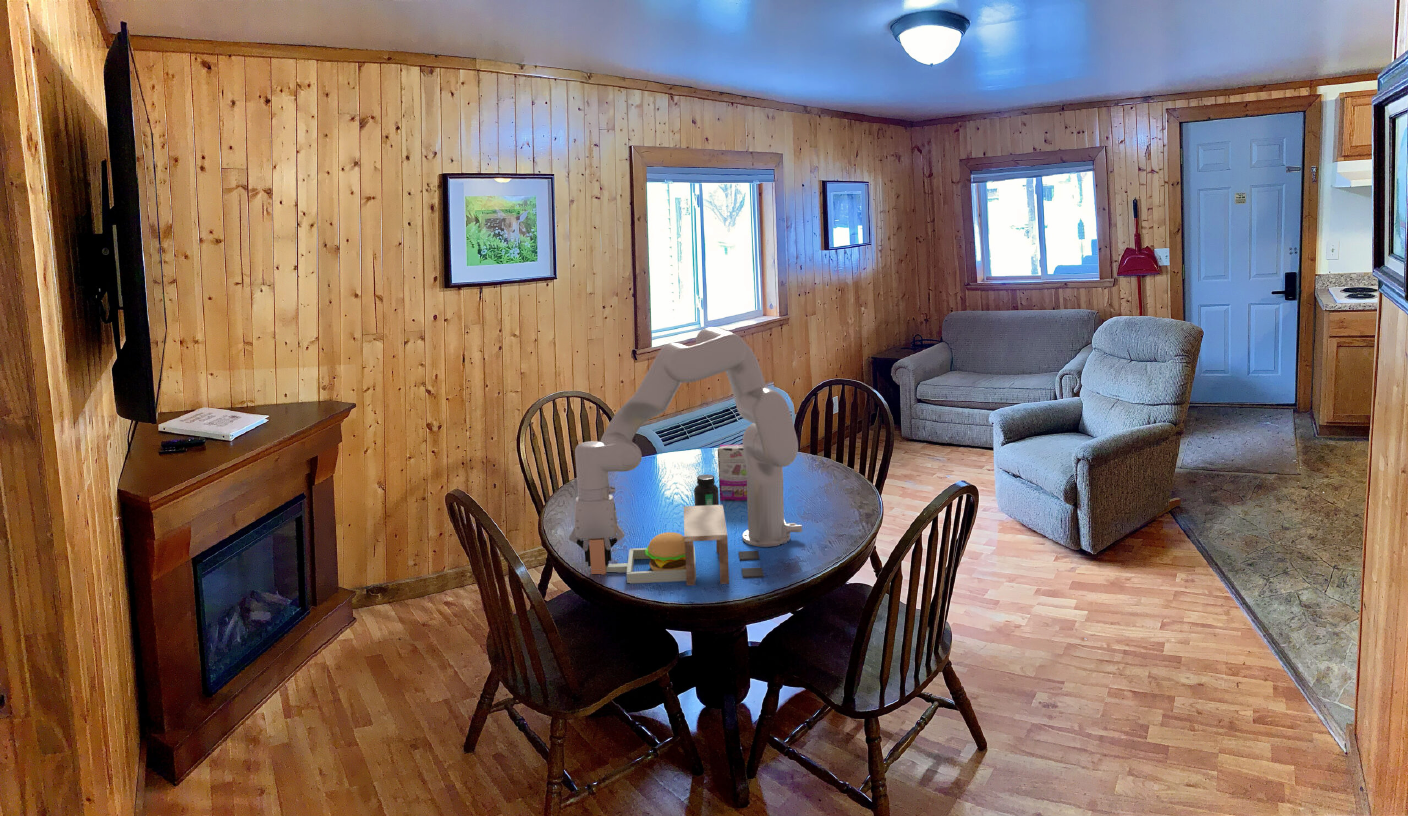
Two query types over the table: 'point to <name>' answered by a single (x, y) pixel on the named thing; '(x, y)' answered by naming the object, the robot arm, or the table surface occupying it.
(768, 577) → the table surface
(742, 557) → the pit square
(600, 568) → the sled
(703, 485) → the supplement bottle
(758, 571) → the pit square
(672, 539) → the hamburger
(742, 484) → the candy bar box
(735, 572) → the table surface
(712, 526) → the tunnel
